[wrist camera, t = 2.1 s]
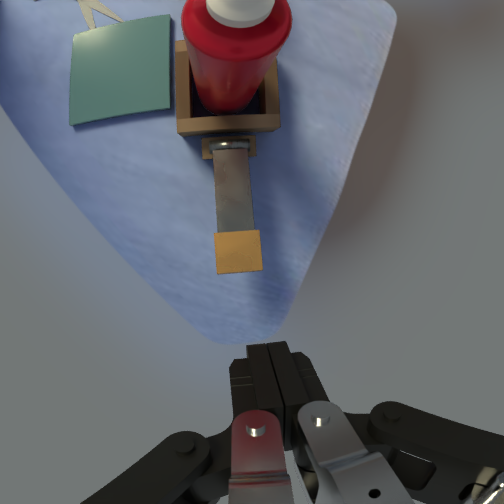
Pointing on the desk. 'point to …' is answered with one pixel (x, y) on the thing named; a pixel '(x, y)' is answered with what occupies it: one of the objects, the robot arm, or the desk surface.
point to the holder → (223, 124)
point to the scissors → (85, 3)
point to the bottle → (233, 48)
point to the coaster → (120, 70)
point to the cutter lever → (234, 209)
